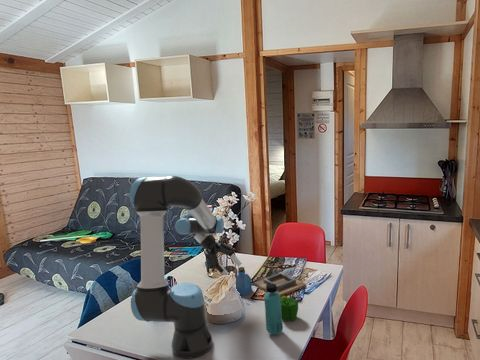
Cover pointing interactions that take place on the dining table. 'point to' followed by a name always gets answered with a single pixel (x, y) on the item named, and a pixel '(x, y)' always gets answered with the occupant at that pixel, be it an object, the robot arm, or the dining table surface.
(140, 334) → the dining table surface
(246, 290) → the perfume bottle
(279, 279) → the walnut stand
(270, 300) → the beverage bottle
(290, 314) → the bell pepper
